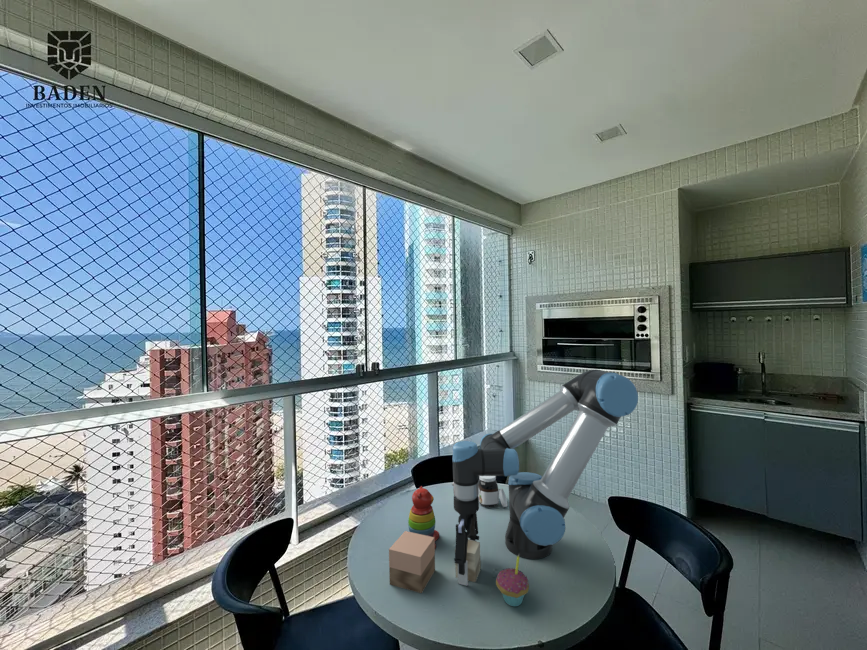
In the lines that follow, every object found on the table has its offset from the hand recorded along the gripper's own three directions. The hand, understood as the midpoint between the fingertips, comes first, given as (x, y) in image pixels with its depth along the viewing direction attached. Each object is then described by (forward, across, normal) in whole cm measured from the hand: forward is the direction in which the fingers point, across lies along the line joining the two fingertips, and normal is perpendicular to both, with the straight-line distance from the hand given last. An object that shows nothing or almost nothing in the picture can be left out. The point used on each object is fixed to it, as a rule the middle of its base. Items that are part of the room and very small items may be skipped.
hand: (468, 572), depth 102 cm
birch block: (0, 0, 0) cm, 0 cm away
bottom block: (+1, +7, -15) cm, 16 cm away
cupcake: (0, +6, +14) cm, 15 cm away
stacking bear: (0, -10, -19) cm, 21 cm away
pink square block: (-4, +7, -15) cm, 17 cm away
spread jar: (0, -44, -2) cm, 44 cm away
